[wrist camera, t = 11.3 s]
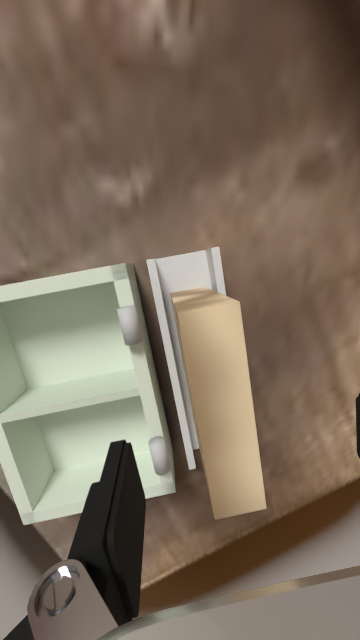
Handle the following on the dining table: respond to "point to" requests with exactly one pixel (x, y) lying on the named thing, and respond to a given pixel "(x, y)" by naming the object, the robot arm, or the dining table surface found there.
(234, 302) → the beige flat block
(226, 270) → the dining table surface
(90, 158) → the dining table surface
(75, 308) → the cabinet
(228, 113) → the dining table surface
